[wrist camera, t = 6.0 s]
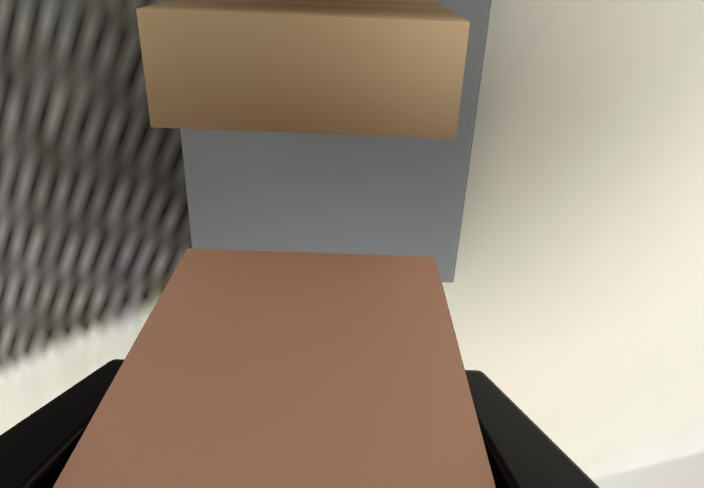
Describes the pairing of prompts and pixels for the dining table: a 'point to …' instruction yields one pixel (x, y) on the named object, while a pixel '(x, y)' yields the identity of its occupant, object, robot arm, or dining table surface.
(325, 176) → the mat
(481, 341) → the dining table surface
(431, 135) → the domino
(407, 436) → the terracotta domino
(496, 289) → the dining table surface
